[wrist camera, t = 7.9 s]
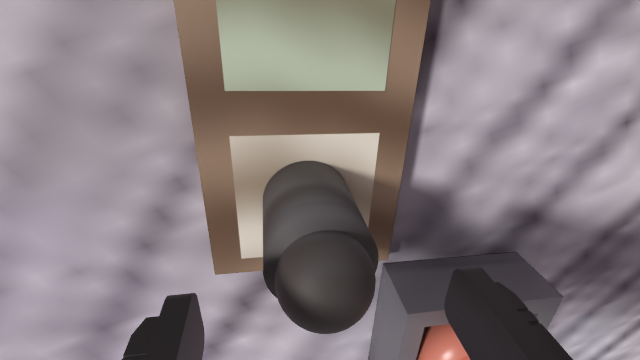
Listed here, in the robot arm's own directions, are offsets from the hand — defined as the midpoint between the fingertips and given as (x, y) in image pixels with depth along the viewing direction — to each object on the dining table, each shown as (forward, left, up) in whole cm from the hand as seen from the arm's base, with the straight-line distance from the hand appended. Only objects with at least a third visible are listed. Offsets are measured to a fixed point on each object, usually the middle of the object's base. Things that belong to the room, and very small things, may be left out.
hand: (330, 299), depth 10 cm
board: (+4, 0, -8) cm, 9 cm away
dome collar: (-11, -10, -8) cm, 17 cm away
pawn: (-1, 0, -7) cm, 7 cm away
